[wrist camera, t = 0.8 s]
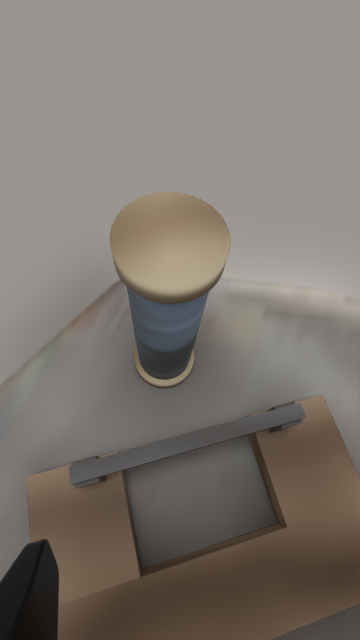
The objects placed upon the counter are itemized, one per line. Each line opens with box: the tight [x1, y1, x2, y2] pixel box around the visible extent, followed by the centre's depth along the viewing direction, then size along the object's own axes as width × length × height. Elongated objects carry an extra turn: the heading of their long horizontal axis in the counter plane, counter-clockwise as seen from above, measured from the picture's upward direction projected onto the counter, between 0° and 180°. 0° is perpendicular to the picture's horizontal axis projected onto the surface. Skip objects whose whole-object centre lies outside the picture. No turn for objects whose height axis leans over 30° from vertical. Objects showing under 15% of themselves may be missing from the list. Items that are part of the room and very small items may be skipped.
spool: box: [110, 192, 230, 388], centre depth 17 cm, size 4×4×13 cm
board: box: [26, 395, 360, 640], centre depth 17 cm, size 10×18×4 cm, turn 105°
